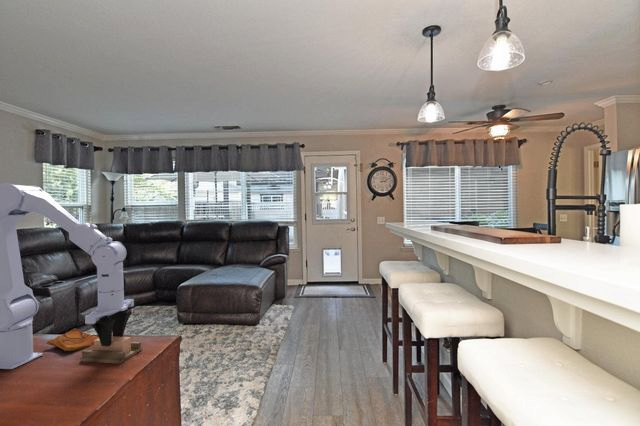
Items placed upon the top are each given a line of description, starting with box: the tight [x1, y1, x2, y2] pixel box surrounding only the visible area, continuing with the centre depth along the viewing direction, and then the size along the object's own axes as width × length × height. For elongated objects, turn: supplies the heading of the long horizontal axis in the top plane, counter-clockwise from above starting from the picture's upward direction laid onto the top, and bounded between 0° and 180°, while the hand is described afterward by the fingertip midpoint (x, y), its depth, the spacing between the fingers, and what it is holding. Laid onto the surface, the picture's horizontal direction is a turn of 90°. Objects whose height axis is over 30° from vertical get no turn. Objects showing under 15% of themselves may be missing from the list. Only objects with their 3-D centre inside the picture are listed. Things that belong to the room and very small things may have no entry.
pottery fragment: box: [45, 328, 99, 352], centre depth 94 cm, size 10×5×10 cm
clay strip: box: [93, 335, 132, 354], centre depth 88 cm, size 8×3×4 cm, turn 82°
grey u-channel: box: [80, 340, 143, 364], centre depth 88 cm, size 11×8×2 cm
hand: (112, 342), depth 88 cm, fingers open, 4 cm apart
